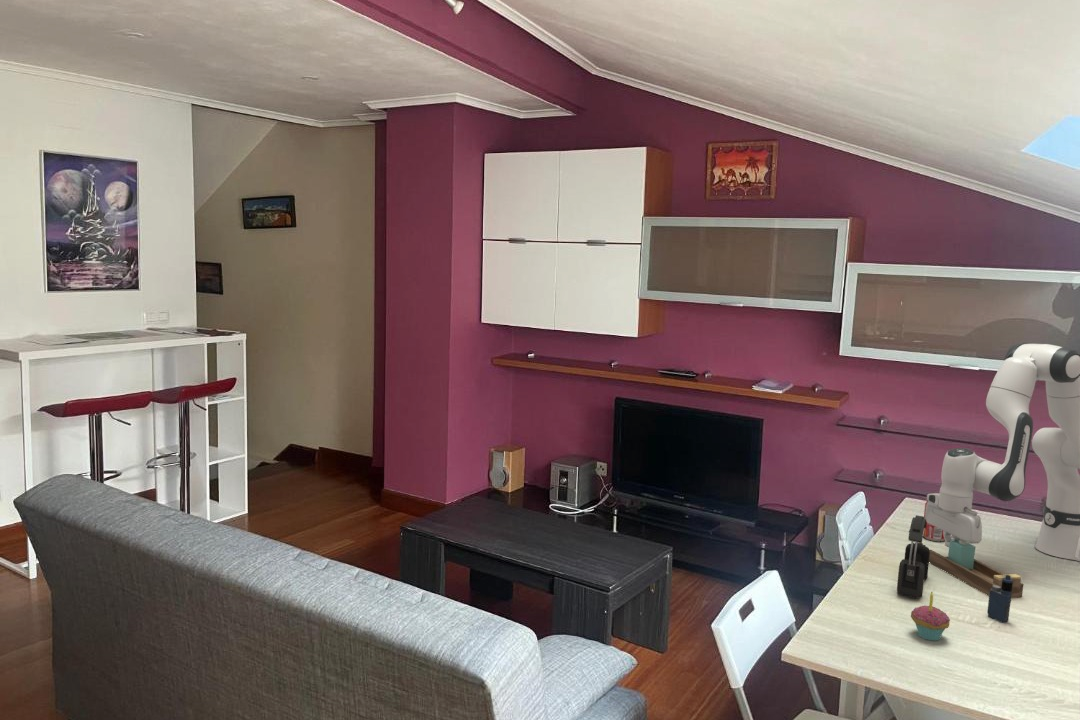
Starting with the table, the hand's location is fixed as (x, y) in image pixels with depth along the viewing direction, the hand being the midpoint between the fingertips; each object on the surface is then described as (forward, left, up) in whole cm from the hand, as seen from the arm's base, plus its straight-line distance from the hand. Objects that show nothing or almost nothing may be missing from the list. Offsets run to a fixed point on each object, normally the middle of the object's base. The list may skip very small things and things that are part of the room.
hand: (950, 547), depth 243 cm
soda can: (-12, -22, -6) cm, 26 cm away
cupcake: (+38, +40, -6) cm, 56 cm away
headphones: (+21, +12, -6) cm, 26 cm away
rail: (0, +10, -6) cm, 12 cm away
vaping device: (+13, +34, -6) cm, 37 cm away
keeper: (0, +5, -4) cm, 6 cm away
